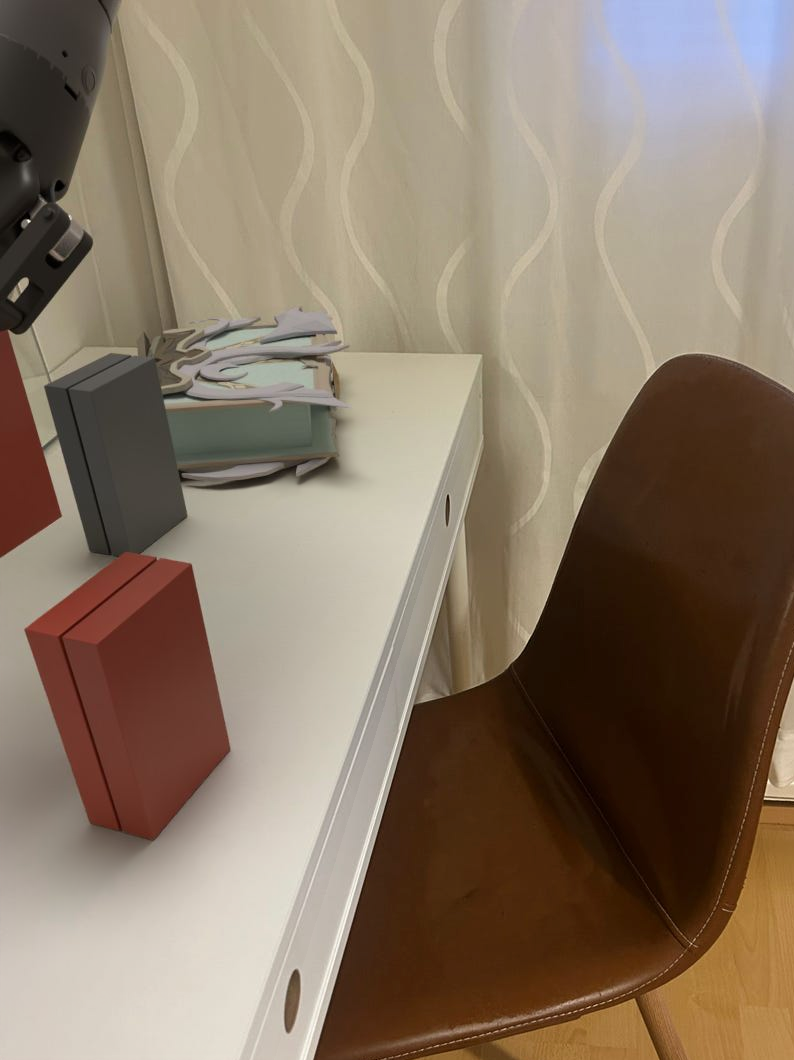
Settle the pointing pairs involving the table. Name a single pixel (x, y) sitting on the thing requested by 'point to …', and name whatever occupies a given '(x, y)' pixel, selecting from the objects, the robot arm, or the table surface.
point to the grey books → (118, 452)
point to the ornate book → (249, 394)
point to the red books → (133, 691)
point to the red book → (21, 461)
